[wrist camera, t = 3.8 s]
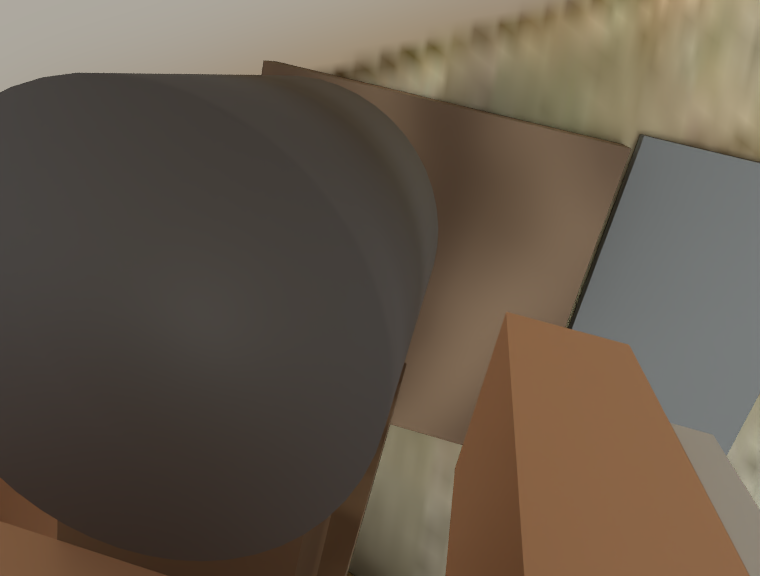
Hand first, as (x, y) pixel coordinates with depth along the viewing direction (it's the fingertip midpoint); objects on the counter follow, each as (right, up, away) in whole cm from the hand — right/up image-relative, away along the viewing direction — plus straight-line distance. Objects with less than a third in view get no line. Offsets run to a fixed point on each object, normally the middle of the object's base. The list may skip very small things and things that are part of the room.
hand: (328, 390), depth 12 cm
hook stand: (+2, +3, +14) cm, 15 cm away
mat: (+13, 0, +13) cm, 19 cm away
